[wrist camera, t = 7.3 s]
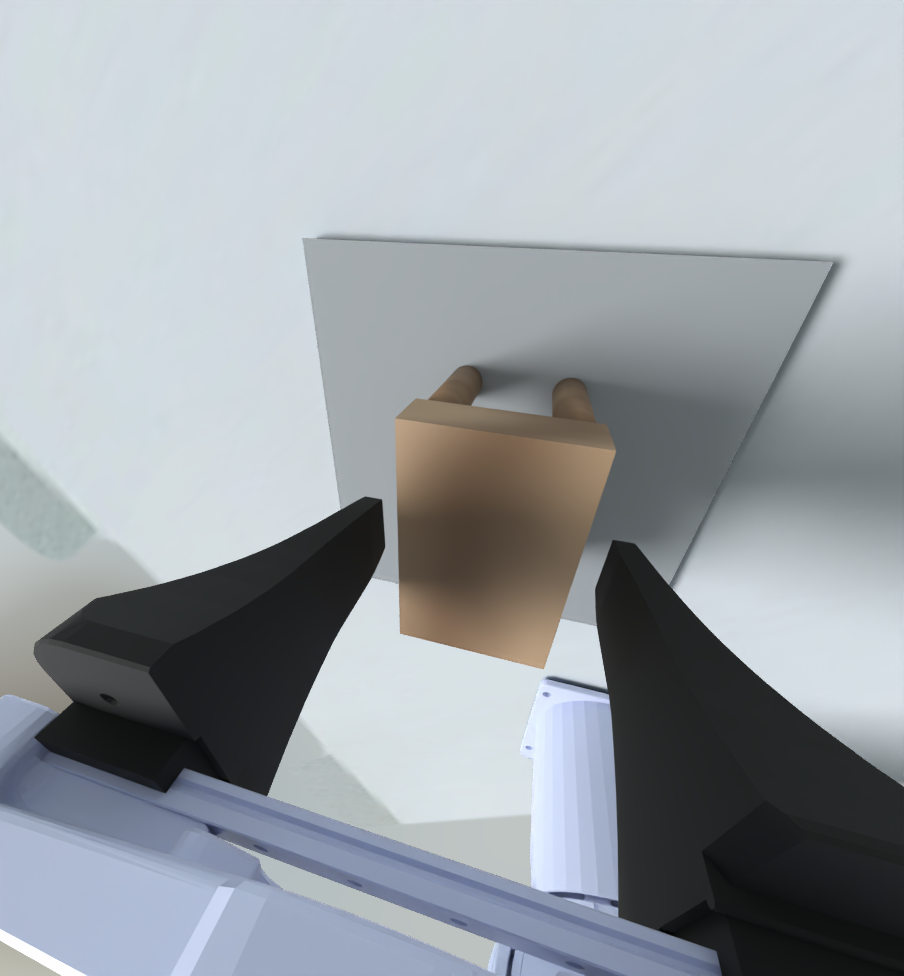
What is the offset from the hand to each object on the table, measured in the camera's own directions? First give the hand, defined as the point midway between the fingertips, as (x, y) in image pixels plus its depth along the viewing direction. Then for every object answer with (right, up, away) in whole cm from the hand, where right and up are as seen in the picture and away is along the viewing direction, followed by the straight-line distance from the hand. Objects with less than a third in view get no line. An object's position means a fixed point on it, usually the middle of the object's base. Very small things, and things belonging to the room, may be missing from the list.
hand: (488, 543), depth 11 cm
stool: (+1, +3, +4) cm, 5 cm away
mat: (+1, +3, +4) cm, 5 cm away
